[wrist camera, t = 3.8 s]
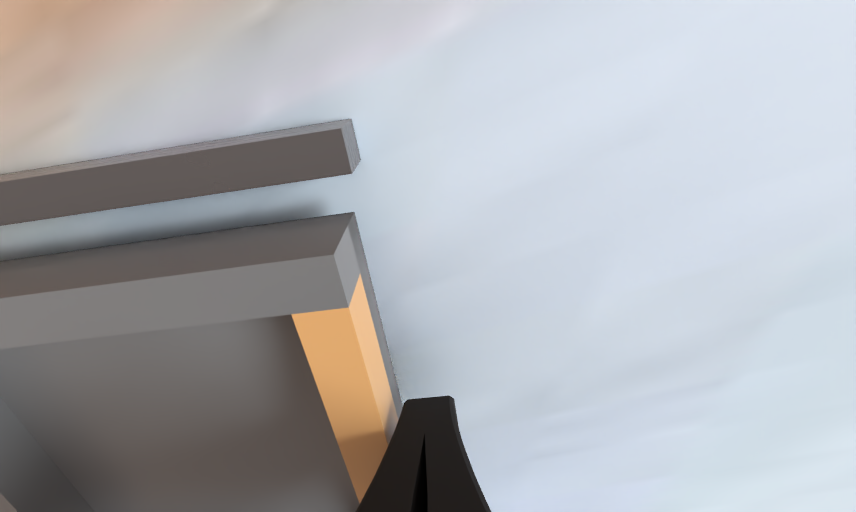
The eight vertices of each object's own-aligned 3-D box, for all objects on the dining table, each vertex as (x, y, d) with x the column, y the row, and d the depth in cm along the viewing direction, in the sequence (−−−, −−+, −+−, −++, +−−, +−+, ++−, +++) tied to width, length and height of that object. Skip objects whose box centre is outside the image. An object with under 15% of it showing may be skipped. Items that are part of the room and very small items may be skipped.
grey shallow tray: (431, 491, 16) (430, 592, 13) (140, 514, 17) (79, 612, 14) (362, 195, 11) (333, 254, 8) (-52, 254, 12) (-213, 326, 9)
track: (442, 519, 17) (443, 551, 16) (-43, 555, 19) (-71, 585, 18) (351, 119, 10) (341, 127, 9) (-402, 238, 12) (-482, 258, 11)
